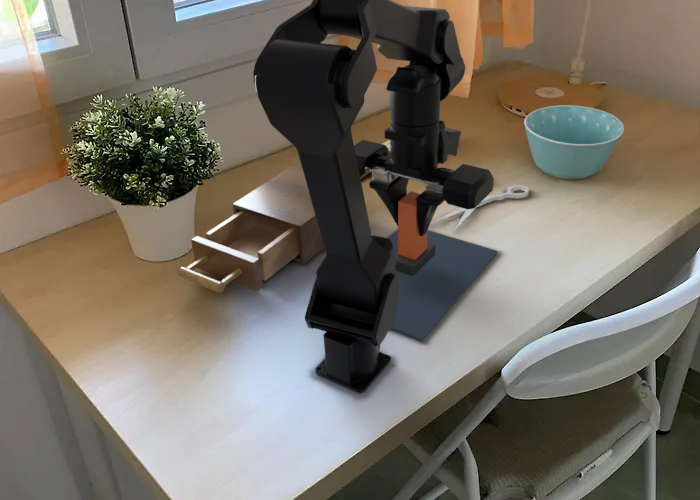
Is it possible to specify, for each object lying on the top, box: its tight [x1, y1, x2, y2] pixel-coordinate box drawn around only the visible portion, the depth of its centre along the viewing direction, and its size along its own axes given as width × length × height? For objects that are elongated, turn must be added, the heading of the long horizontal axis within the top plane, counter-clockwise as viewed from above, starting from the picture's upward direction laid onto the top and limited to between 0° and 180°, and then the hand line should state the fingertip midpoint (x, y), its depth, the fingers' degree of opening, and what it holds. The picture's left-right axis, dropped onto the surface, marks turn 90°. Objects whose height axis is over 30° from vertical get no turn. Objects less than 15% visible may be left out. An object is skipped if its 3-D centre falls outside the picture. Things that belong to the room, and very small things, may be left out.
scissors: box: [430, 184, 530, 232], centre depth 110 cm, size 11×1×20 cm
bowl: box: [523, 104, 625, 181], centre depth 117 cm, size 16×16×8 cm
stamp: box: [394, 190, 435, 276], centre depth 90 cm, size 6×4×10 cm, turn 146°
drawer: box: [177, 210, 300, 294], centre depth 96 cm, size 18×11×5 cm, turn 147°
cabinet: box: [232, 165, 325, 265], centre depth 104 cm, size 14×12×6 cm
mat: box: [388, 229, 499, 342], centre depth 94 cm, size 22×15×1 cm
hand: (412, 231), depth 90 cm, fingers closed on stamp, 3 cm apart
